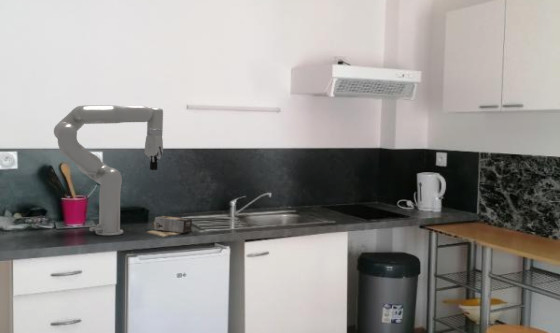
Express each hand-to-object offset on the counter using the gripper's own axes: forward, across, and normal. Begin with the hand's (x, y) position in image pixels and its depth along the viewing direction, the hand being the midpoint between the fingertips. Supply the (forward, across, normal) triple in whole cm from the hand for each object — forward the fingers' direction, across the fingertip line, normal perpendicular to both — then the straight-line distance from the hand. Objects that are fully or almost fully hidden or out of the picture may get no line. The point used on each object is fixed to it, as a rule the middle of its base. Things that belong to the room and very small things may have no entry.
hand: (153, 169), depth 264 cm
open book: (+30, +10, +1) cm, 32 cm away
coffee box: (+26, +2, +2) cm, 27 cm away
